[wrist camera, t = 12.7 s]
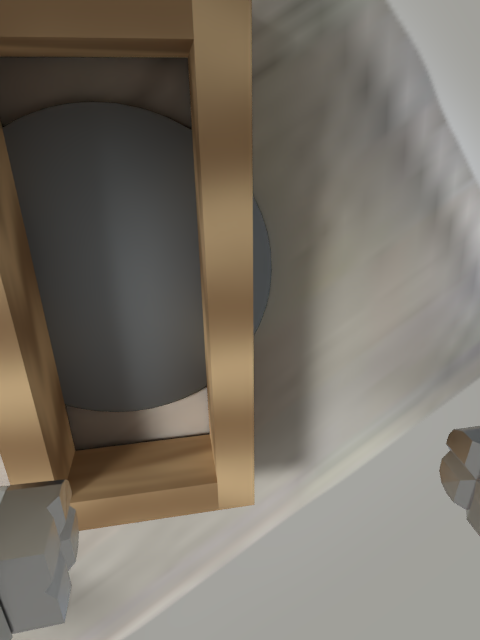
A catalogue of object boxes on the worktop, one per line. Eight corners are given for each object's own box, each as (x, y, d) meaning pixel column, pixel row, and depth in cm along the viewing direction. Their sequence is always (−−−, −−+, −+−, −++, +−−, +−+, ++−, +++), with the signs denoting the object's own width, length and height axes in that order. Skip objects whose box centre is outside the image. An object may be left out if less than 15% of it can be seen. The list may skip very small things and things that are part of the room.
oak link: (-86, -7, 16) (-160, -48, 12) (232, 1, 17) (251, -33, 14) (46, 481, 26) (27, 538, 22) (242, 455, 27) (254, 504, 24)
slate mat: (-109, 101, 17) (-115, 101, 17) (273, 102, 20) (275, 101, 19) (-11, 421, 24) (-14, 426, 23) (267, 393, 26) (268, 397, 26)
